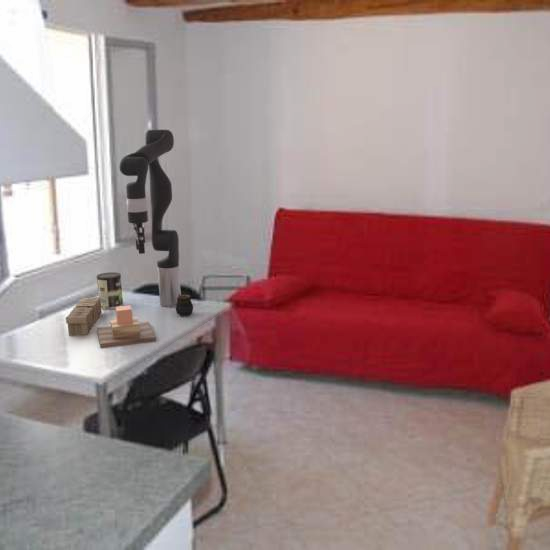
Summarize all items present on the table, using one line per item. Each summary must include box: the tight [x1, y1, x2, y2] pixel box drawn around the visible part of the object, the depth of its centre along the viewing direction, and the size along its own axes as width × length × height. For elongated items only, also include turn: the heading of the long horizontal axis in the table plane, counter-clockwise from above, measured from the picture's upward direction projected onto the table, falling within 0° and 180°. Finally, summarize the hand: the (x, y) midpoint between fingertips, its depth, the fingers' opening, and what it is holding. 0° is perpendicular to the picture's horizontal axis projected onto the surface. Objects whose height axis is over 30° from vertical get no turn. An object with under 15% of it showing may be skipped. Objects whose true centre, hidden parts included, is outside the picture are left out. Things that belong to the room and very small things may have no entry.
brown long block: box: [65, 296, 102, 337], centre depth 264 cm, size 8×8×29 cm
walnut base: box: [96, 316, 157, 349], centre depth 250 cm, size 20×20×6 cm
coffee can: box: [96, 271, 124, 310], centre depth 289 cm, size 10×10×14 cm
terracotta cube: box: [115, 305, 134, 325], centre depth 248 cm, size 6×6×6 cm
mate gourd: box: [175, 294, 194, 317], centre depth 273 cm, size 7×8×10 cm
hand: (140, 251), depth 255 cm, fingers open, 8 cm apart
